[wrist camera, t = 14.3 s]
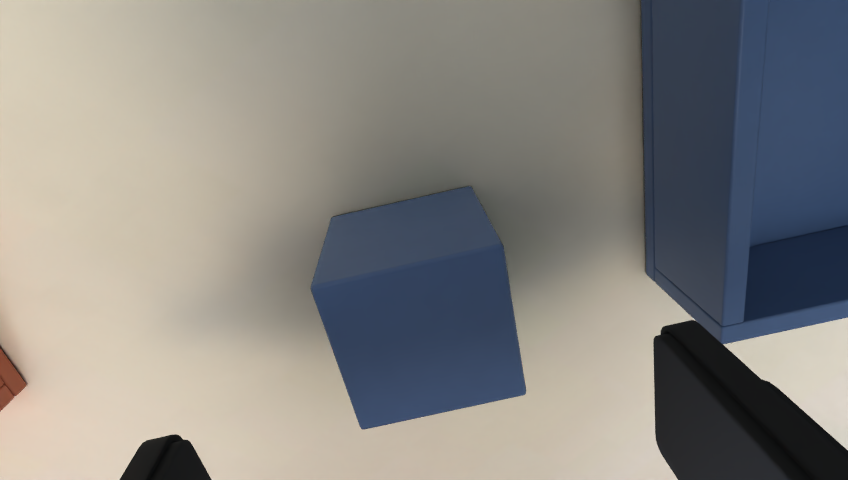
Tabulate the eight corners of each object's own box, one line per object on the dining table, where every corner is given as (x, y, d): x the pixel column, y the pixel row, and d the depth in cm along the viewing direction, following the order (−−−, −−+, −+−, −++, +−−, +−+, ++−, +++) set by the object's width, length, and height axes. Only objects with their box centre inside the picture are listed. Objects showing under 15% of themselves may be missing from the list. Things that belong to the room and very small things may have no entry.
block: (330, 216, 15) (308, 287, 11) (471, 184, 15) (503, 244, 11) (367, 333, 17) (360, 431, 13) (492, 305, 17) (527, 395, 12)
